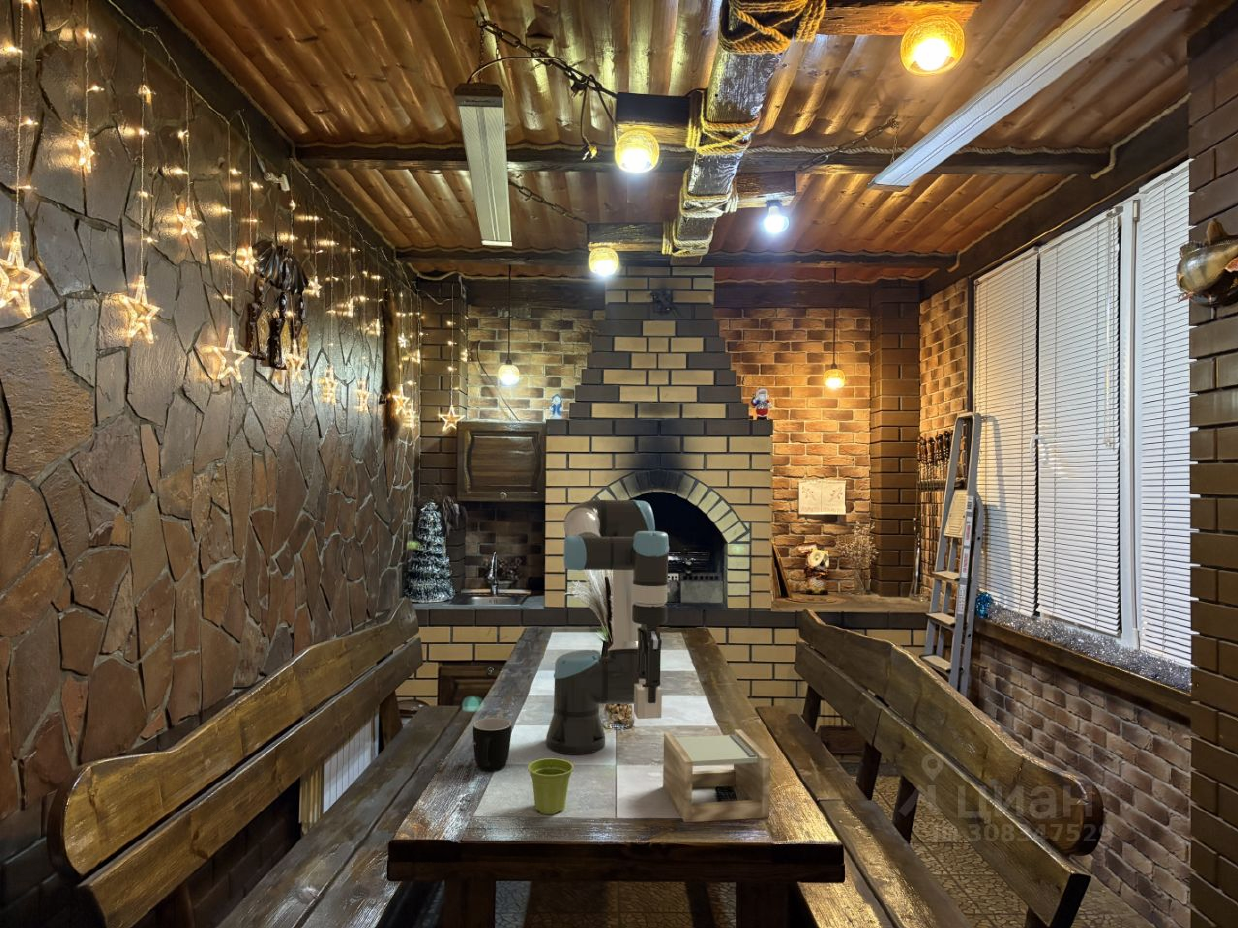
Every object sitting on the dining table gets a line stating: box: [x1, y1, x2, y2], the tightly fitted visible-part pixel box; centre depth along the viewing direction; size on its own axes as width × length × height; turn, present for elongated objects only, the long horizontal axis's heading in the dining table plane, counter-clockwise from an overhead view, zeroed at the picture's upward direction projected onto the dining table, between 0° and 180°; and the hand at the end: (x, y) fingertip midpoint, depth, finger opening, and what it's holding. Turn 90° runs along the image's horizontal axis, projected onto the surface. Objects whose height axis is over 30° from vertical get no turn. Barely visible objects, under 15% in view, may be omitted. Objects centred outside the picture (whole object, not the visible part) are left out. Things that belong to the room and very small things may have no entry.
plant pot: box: [527, 757, 574, 815], centre depth 160 cm, size 9×9×9 cm
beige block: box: [633, 684, 663, 720], centre depth 165 cm, size 5×5×6 cm
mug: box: [472, 717, 512, 773], centre depth 181 cm, size 12×9×10 cm
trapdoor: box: [675, 733, 758, 767], centre depth 166 cm, size 14×14×1 cm
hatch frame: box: [662, 728, 771, 823], centre depth 165 cm, size 18×18×12 cm
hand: (647, 712), depth 165 cm, fingers closed on beige block, 5 cm apart
